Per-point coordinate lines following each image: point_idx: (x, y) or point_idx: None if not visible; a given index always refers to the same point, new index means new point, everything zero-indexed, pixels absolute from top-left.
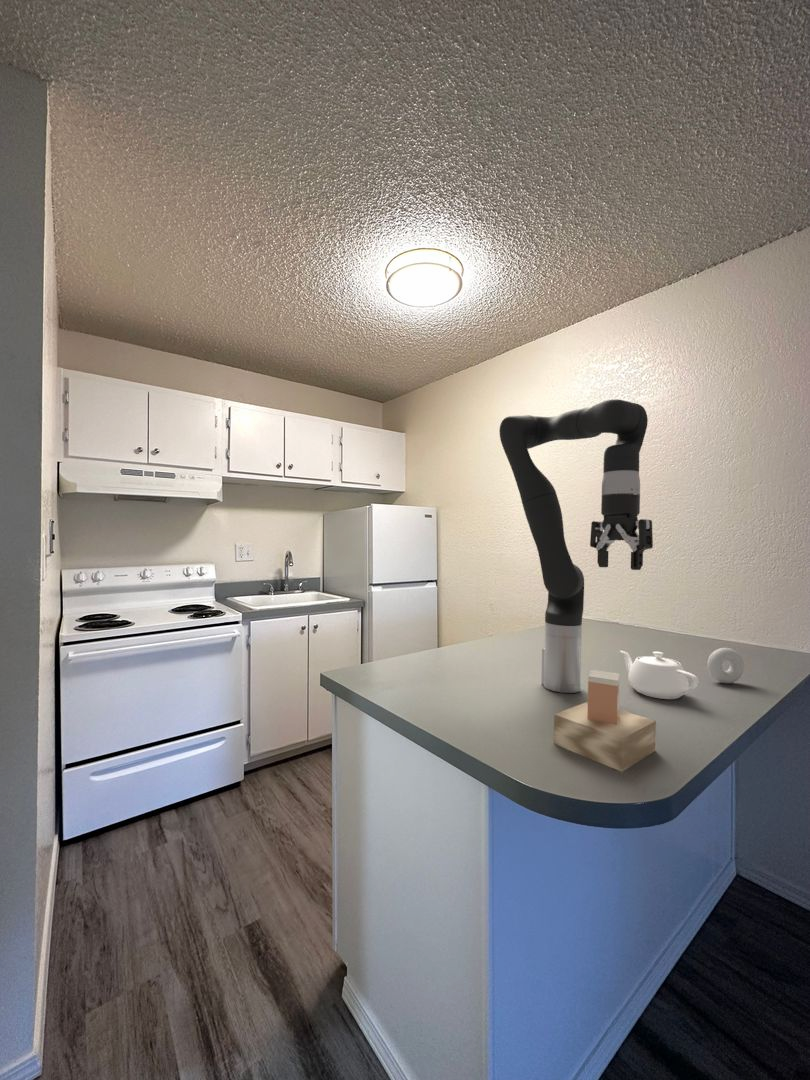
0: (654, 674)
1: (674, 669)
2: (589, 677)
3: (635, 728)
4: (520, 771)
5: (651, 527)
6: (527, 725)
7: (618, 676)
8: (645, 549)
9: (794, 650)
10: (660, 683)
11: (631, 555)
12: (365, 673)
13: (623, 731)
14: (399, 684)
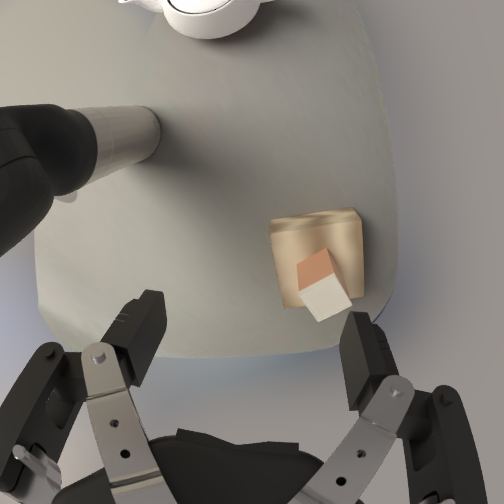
0: (225, 20)
1: None
2: (319, 320)
3: (359, 263)
4: (307, 343)
5: (480, 492)
6: (234, 280)
7: (342, 289)
8: (420, 397)
9: None
10: (240, 23)
11: (350, 396)
12: (60, 322)
13: (355, 281)
14: (91, 316)
